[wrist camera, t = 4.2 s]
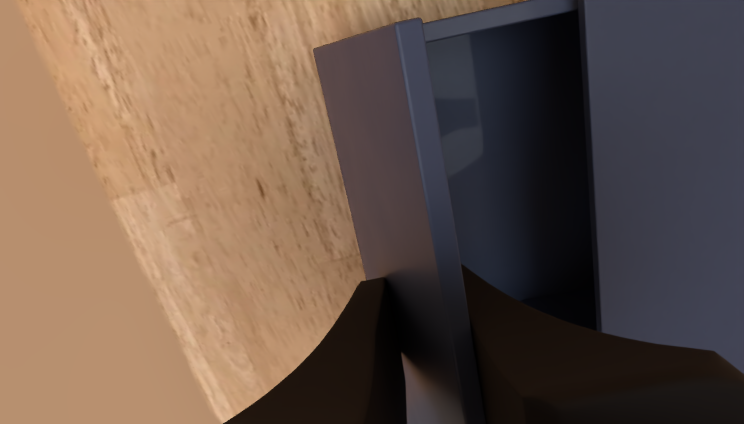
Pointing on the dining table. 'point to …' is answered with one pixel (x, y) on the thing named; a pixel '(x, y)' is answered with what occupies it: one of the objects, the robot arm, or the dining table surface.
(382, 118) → the flap
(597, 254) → the carton
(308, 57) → the dining table surface
